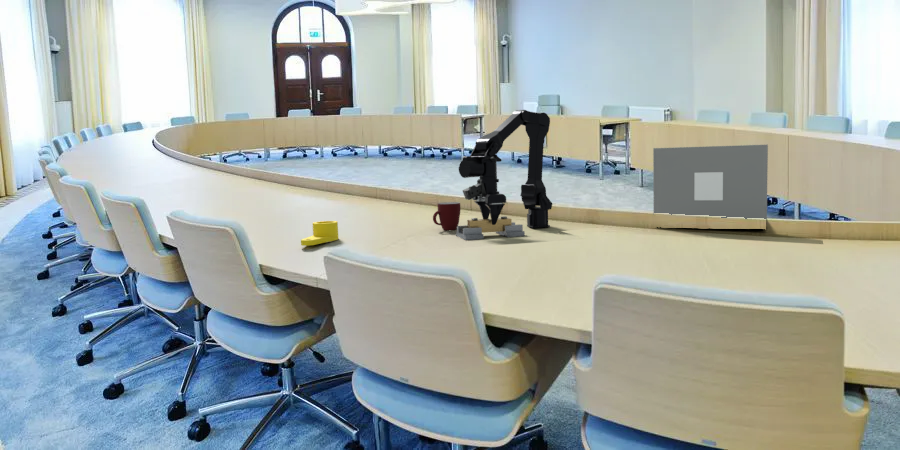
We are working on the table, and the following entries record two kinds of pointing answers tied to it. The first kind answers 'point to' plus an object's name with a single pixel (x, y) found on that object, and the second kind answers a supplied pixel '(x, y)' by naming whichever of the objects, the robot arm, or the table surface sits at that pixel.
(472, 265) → the table surface
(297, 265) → the table surface
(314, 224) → the crank
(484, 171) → the robot arm
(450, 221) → the mug
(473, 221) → the link
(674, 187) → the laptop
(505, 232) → the pair of grey blocks
